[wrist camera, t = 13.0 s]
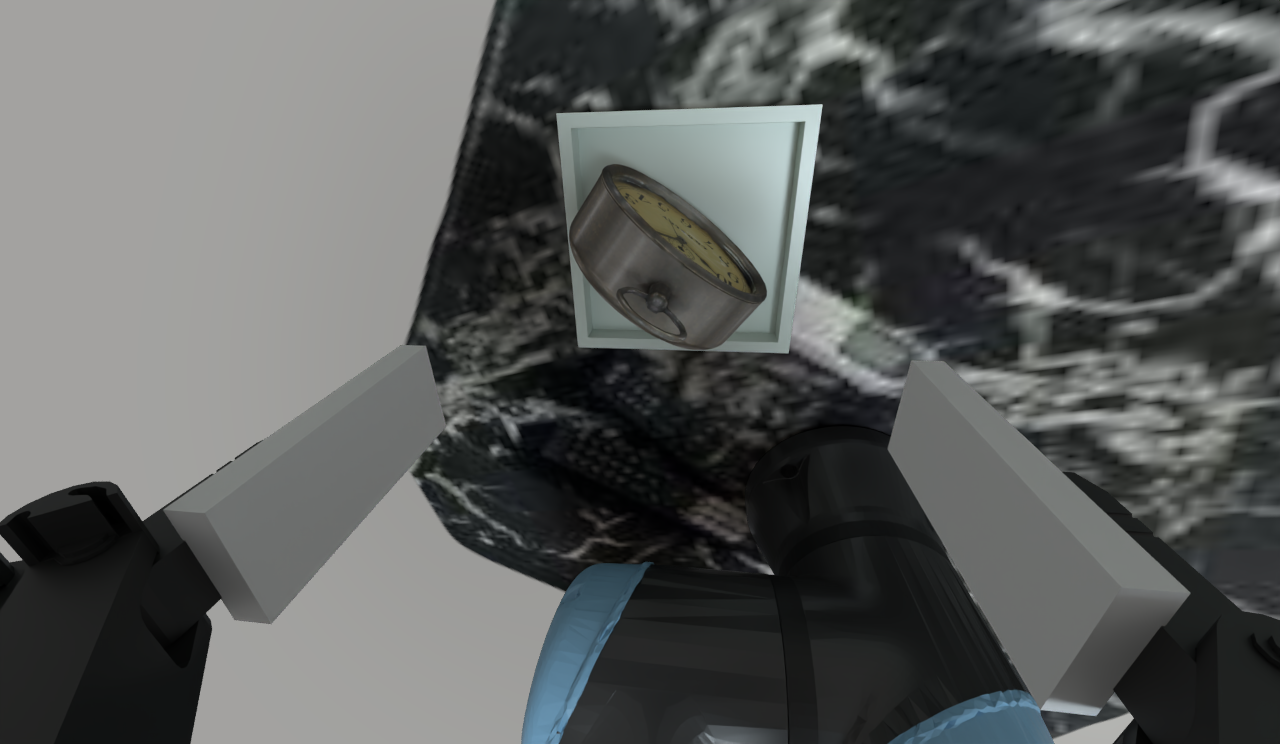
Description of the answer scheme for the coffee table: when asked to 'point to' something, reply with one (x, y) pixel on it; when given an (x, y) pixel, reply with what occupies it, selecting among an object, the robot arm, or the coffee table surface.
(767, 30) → the coffee table surface
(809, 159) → the tray
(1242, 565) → the coffee table surface
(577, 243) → the alarm clock
